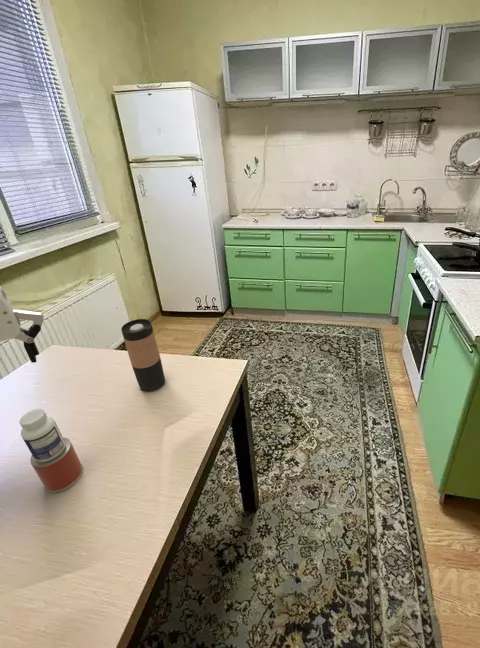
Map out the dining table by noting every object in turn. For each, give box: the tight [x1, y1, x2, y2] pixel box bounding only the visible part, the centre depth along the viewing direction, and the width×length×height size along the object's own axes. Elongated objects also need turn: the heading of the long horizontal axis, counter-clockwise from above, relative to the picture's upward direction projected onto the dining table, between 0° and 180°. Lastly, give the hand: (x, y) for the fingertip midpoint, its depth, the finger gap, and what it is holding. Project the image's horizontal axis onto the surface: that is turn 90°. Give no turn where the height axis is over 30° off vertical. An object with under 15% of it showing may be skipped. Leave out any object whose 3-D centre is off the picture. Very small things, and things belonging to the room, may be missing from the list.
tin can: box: [30, 437, 84, 494], centre depth 68 cm, size 7×7×8 cm
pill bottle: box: [19, 408, 65, 462], centre depth 64 cm, size 5×5×10 cm
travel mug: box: [120, 318, 166, 393], centre depth 91 cm, size 8×8×20 cm
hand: (1, 369), depth 58 cm, fingers open, 9 cm apart
